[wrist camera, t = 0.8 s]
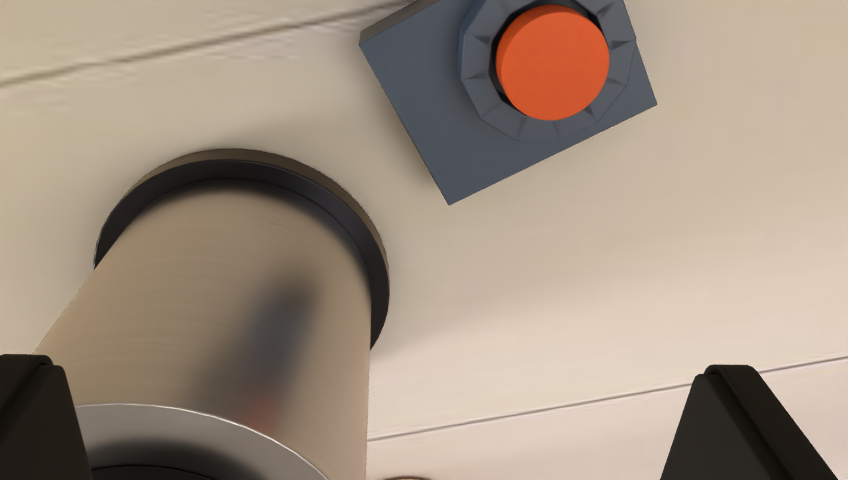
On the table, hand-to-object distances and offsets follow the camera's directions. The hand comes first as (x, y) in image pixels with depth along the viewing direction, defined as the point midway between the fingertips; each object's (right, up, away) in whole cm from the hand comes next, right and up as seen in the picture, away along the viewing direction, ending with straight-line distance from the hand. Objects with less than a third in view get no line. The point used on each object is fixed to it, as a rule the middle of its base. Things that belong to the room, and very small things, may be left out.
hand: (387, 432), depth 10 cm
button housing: (+4, +12, +22) cm, 25 cm away
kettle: (-11, -1, +28) cm, 30 cm away
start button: (+6, +11, +18) cm, 22 cm away
